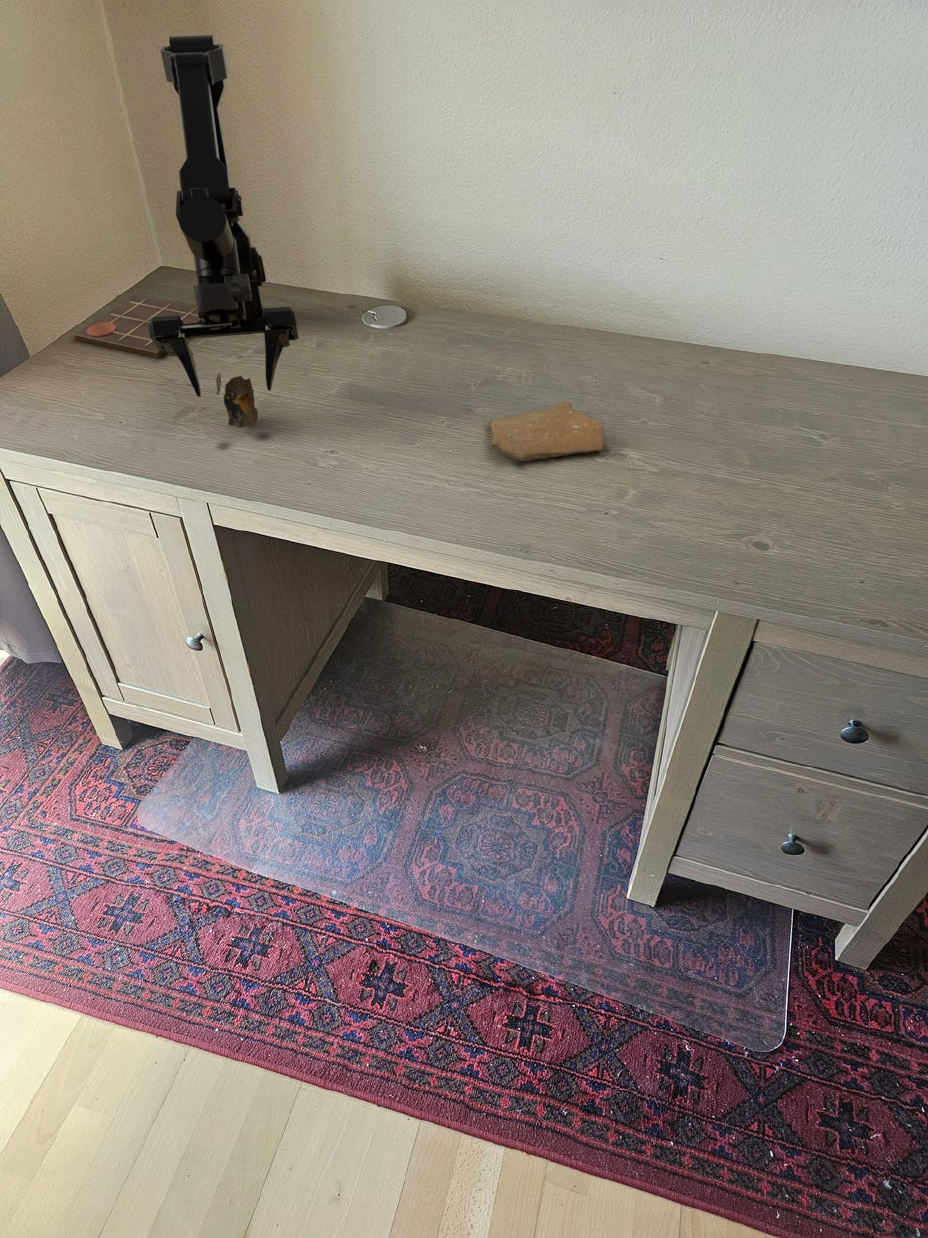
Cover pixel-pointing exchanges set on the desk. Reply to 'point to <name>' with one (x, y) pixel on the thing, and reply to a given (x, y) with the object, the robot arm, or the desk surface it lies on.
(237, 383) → the rock
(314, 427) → the desk surface
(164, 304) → the board
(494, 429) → the stone
